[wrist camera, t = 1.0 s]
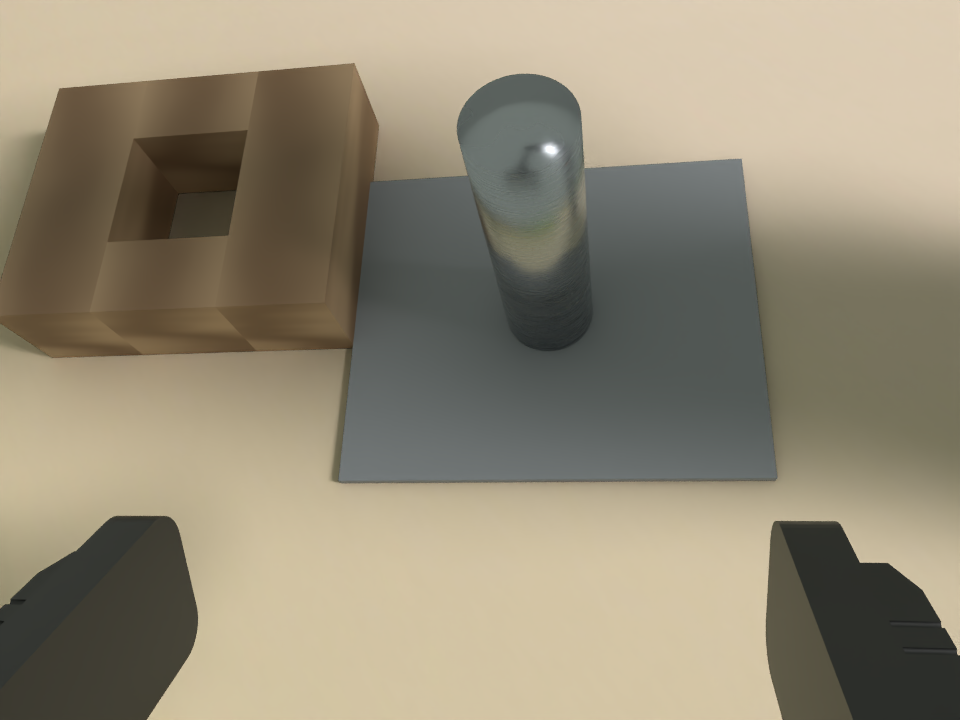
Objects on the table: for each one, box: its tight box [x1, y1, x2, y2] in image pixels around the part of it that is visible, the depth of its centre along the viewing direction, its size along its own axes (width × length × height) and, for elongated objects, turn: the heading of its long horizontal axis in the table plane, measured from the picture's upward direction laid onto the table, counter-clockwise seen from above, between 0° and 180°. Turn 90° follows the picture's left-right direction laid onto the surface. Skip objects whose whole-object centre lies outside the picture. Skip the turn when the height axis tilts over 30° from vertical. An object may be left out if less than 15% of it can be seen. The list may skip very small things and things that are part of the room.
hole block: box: [0, 63, 379, 358], centre depth 31 cm, size 12×10×4 cm
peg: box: [457, 74, 593, 351], centre depth 24 cm, size 3×3×10 cm
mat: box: [338, 159, 777, 483], centre depth 29 cm, size 14×12×1 cm
